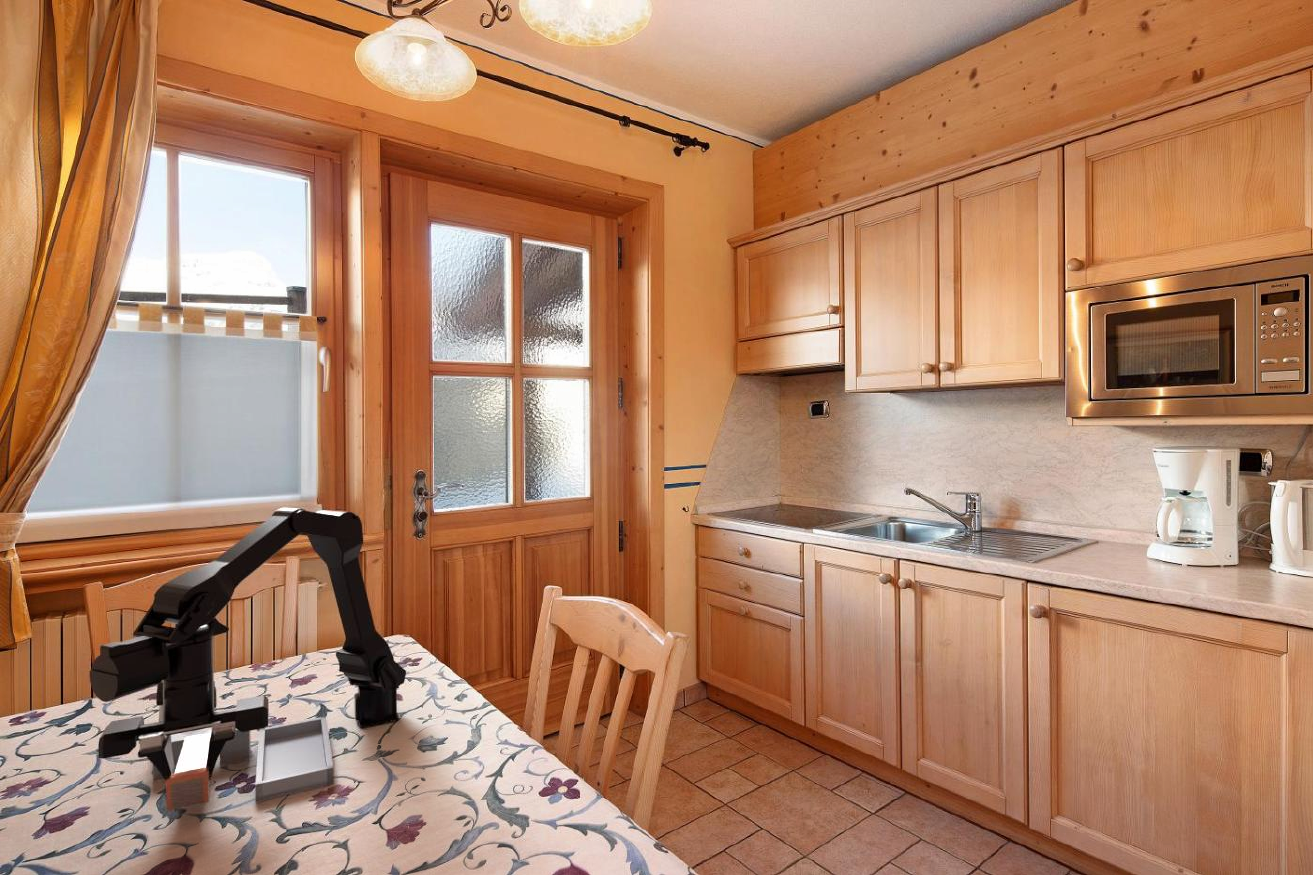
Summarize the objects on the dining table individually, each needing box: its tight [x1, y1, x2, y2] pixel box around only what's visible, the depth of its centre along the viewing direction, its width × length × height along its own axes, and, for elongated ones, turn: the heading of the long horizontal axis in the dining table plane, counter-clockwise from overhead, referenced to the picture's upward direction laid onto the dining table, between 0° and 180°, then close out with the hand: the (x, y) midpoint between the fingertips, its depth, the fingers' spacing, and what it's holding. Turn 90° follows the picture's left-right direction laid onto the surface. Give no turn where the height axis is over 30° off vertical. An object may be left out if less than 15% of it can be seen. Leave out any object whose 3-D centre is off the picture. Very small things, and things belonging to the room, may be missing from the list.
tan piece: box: [165, 733, 211, 812], centre depth 97 cm, size 15×5×4 cm, turn 29°
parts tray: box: [254, 716, 335, 803], centre depth 108 cm, size 10×20×2 cm, turn 29°
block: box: [152, 727, 252, 781], centre depth 107 cm, size 12×4×5 cm, turn 119°
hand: (190, 786), depth 93 cm, fingers closed on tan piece, 3 cm apart
